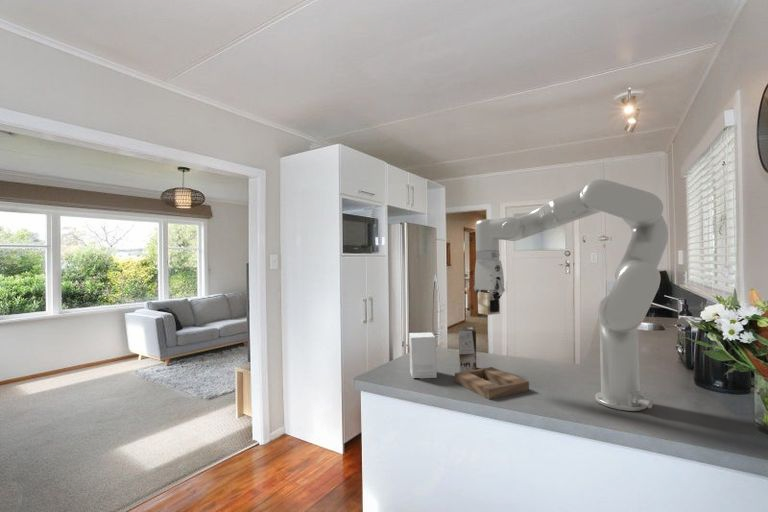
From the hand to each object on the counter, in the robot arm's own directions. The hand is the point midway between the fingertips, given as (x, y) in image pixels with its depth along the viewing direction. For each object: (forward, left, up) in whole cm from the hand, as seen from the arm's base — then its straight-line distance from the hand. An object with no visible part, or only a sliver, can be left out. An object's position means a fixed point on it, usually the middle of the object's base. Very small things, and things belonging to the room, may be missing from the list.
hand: (488, 310), depth 125 cm
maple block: (0, 0, -1) cm, 1 cm away
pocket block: (0, 0, -25) cm, 25 cm away
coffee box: (+18, -4, -26) cm, 32 cm away
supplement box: (+21, +14, -26) cm, 36 cm away
